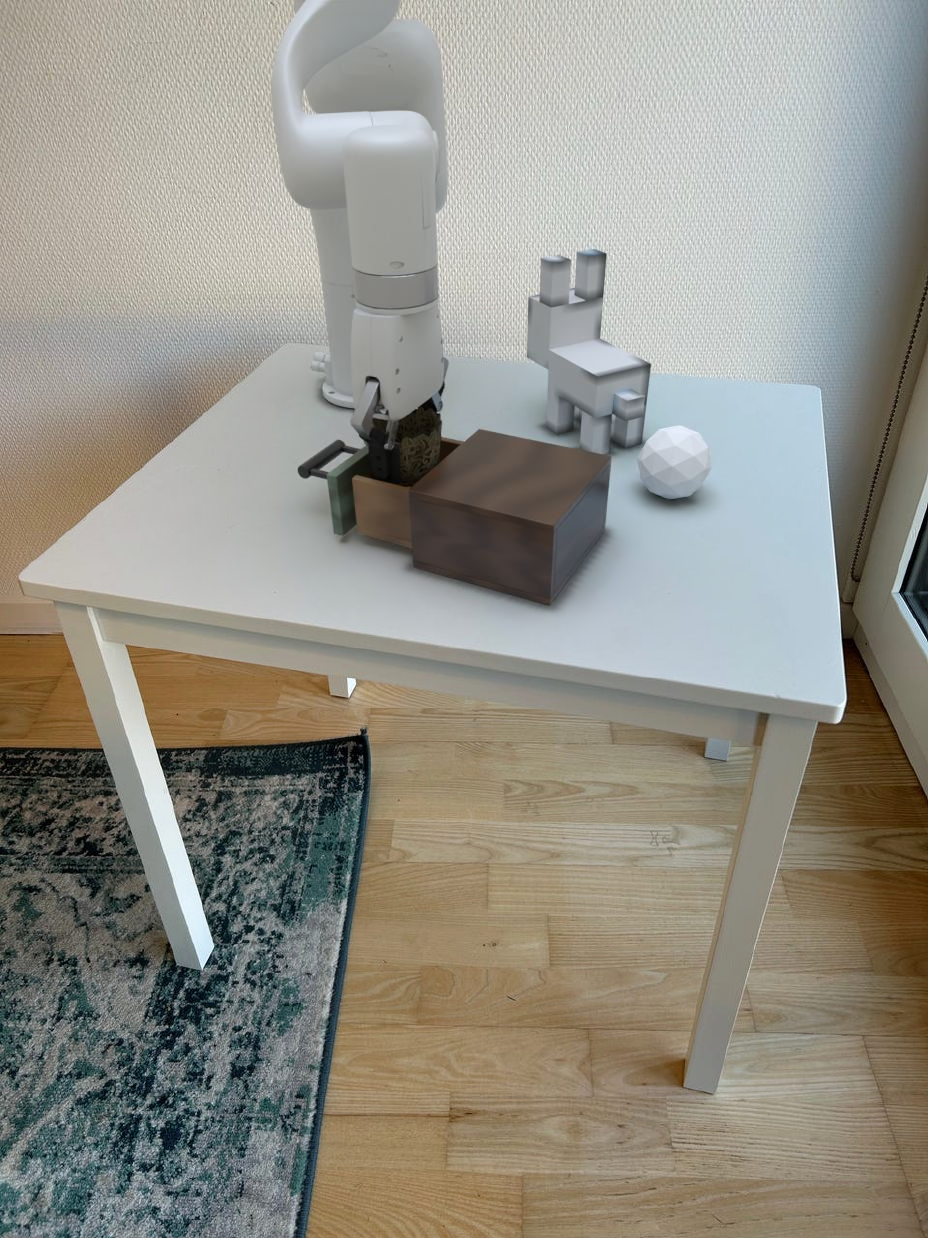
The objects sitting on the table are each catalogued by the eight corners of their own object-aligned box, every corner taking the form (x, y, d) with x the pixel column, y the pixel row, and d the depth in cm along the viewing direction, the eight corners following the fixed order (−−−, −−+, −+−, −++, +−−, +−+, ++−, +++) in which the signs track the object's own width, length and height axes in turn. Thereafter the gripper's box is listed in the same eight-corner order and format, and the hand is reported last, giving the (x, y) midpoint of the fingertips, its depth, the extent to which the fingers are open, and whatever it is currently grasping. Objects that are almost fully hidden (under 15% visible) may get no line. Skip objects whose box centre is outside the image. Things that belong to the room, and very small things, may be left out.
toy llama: (604, 465, 101) (619, 290, 89) (525, 412, 113) (529, 252, 101) (654, 451, 104) (676, 279, 92) (572, 401, 116) (582, 244, 104)
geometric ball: (647, 511, 98) (619, 447, 97) (712, 481, 97) (684, 415, 96) (663, 512, 90) (632, 442, 89) (733, 479, 90) (703, 408, 89)
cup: (451, 477, 92) (449, 406, 87) (436, 512, 86) (433, 438, 81) (384, 472, 93) (378, 402, 88) (364, 506, 87) (357, 433, 82)
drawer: (284, 520, 91) (274, 461, 87) (354, 466, 100) (348, 411, 96) (449, 565, 83) (447, 504, 79) (508, 503, 93) (509, 445, 88)
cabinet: (412, 567, 85) (407, 489, 80) (479, 500, 95) (478, 428, 90) (549, 605, 79) (554, 525, 74) (604, 531, 89) (612, 455, 84)
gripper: (409, 255, 84) (418, 423, 95) (304, 308, 72) (328, 494, 83) (477, 264, 81) (478, 436, 92) (380, 321, 69) (394, 511, 80)
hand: (407, 462), depth 88 cm, fingers closed on cup, 7 cm apart
